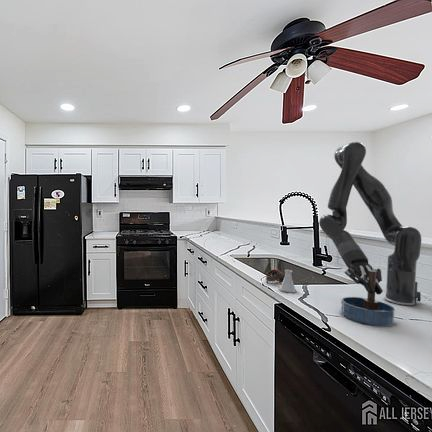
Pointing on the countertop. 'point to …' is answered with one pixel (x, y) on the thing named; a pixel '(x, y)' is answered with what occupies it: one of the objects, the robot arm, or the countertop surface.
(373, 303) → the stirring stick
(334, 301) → the countertop surface
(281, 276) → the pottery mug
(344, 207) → the robot arm
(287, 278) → the flask
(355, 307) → the mixing bowl
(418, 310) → the countertop surface
